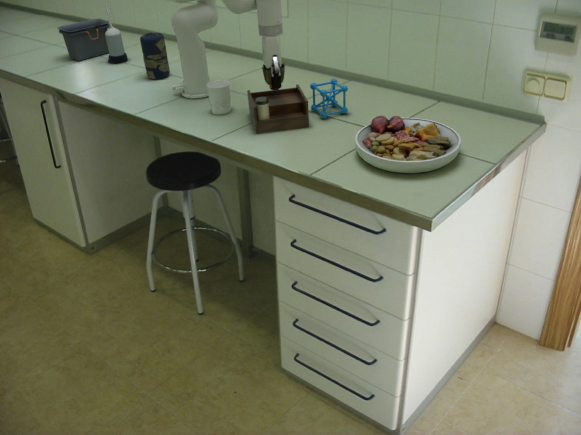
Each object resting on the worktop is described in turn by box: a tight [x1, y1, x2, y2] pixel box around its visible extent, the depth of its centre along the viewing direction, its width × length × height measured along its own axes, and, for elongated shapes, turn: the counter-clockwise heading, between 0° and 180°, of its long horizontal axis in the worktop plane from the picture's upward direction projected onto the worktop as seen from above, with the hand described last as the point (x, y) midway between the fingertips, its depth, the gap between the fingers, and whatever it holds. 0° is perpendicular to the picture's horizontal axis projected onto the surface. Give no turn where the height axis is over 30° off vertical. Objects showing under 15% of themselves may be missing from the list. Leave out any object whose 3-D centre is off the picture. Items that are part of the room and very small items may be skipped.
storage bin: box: [57, 18, 110, 62], centre depth 272 cm, size 21×16×14 cm
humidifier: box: [104, 2, 129, 65], centre depth 260 cm, size 8×8×25 cm
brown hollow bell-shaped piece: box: [261, 62, 286, 90], centre depth 194 cm, size 8×7×8 cm
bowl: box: [354, 115, 462, 174], centre depth 172 cm, size 30×30×8 cm
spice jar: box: [255, 97, 270, 121], centre depth 191 cm, size 4×4×7 cm
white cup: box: [207, 79, 232, 115], centre depth 207 cm, size 8×8×10 cm
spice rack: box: [246, 83, 310, 135], centre depth 197 cm, size 18×16×9 cm
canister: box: [139, 32, 171, 80], centre depth 241 cm, size 10×10×18 cm
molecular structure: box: [309, 78, 349, 120], centre depth 201 cm, size 10×10×10 cm
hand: (274, 83), depth 196 cm, fingers closed on brown hollow bell-shaped piece, 7 cm apart
